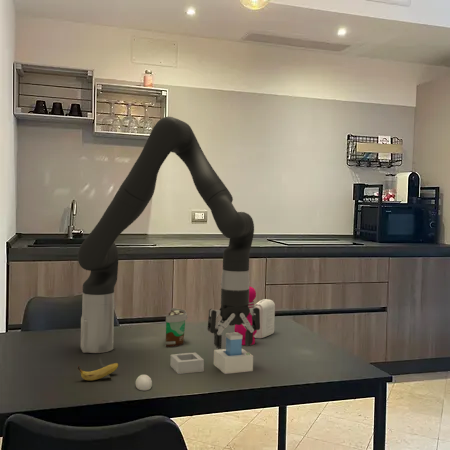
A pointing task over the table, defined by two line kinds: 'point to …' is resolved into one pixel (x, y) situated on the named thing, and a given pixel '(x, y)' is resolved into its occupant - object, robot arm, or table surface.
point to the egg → (143, 382)
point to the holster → (187, 363)
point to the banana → (98, 372)
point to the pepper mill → (241, 328)
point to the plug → (233, 344)
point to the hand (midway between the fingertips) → (233, 346)
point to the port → (233, 361)
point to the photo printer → (265, 318)
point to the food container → (175, 327)
